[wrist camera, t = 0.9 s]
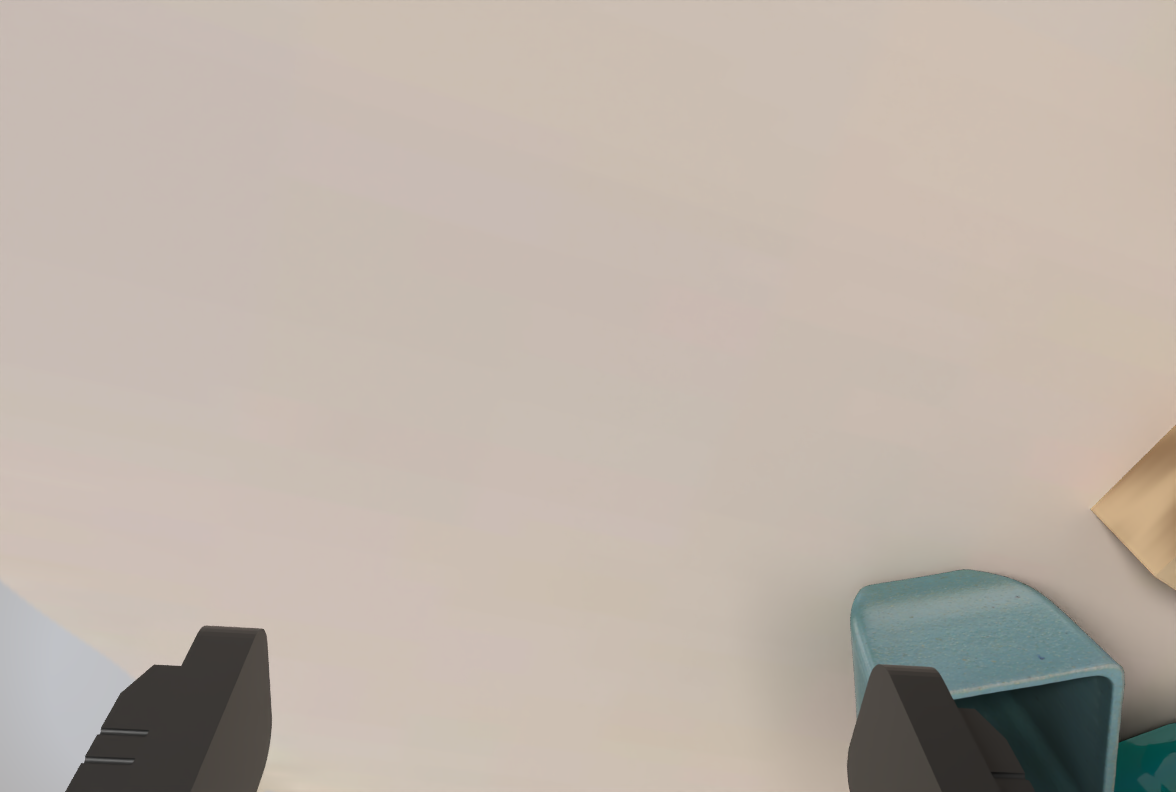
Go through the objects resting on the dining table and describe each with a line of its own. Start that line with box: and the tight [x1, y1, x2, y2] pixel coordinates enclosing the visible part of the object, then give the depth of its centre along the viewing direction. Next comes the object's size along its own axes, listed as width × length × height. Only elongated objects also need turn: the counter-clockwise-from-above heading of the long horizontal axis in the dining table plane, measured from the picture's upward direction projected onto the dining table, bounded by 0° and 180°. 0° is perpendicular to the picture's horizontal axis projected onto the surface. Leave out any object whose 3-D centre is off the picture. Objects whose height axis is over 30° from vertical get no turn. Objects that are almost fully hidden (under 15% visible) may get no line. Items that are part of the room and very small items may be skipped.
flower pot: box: [850, 570, 1125, 792], centre depth 40 cm, size 9×9×9 cm
